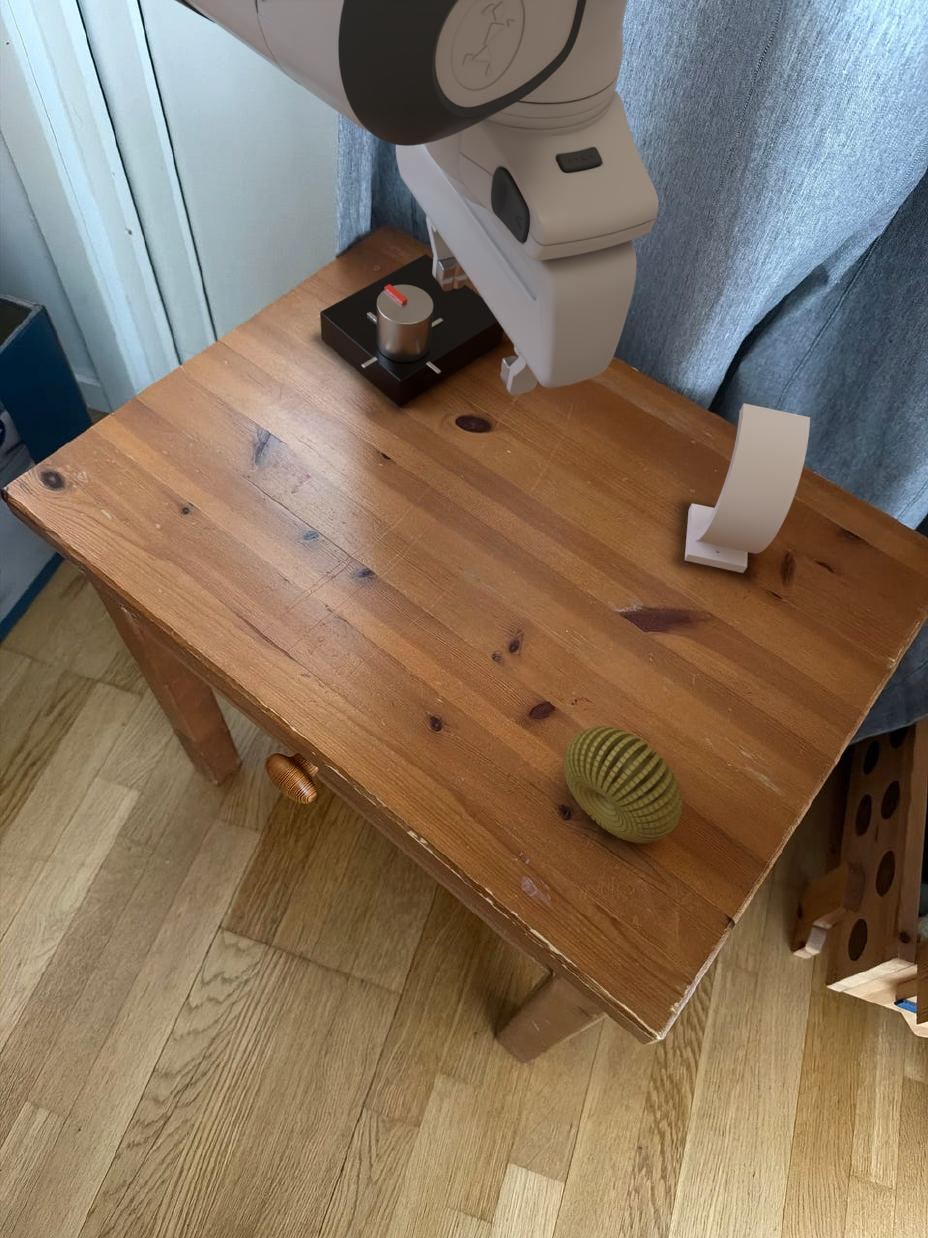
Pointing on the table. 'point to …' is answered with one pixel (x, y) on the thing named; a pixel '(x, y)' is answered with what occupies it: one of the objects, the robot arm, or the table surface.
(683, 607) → the table surface
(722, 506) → the headphone stand
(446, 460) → the table surface
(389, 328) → the dial
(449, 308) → the panel
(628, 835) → the sculpture
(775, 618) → the table surface
